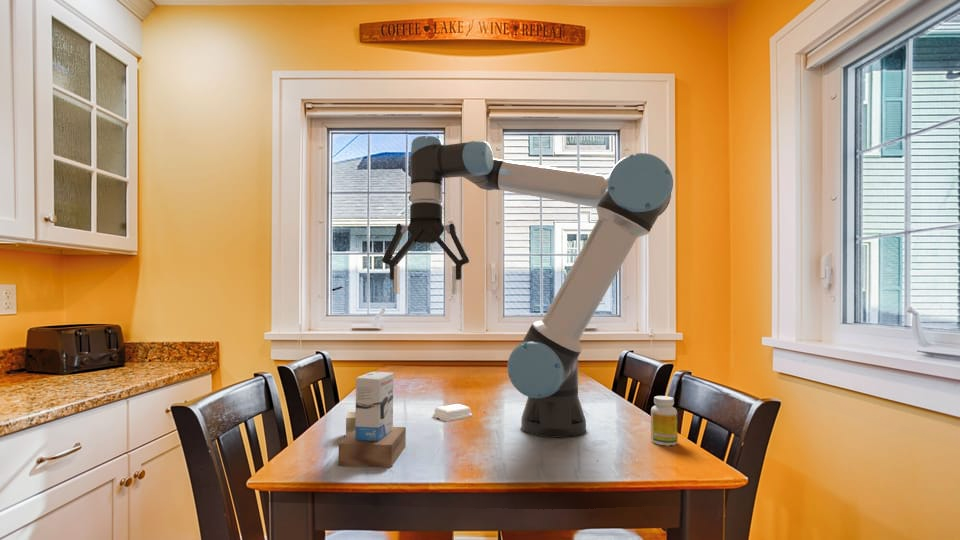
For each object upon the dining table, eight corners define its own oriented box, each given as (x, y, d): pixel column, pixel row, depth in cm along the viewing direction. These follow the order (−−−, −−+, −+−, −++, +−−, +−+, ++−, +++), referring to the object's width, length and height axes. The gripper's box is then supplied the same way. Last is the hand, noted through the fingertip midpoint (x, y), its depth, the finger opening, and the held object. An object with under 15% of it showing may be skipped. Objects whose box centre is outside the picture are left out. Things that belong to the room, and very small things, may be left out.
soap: (445, 423, 122) (446, 411, 122) (430, 417, 127) (430, 406, 127) (474, 417, 127) (474, 406, 128) (458, 412, 133) (458, 401, 133)
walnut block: (405, 446, 102) (405, 427, 102) (391, 466, 90) (391, 444, 90) (358, 445, 103) (358, 426, 103) (338, 465, 91) (338, 443, 91)
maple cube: (369, 433, 112) (369, 411, 112) (369, 440, 107) (369, 416, 107) (346, 434, 111) (347, 412, 111) (345, 441, 106) (346, 418, 106)
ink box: (378, 442, 92) (379, 378, 92) (353, 440, 93) (354, 378, 93) (394, 429, 100) (394, 371, 101) (371, 428, 101) (372, 371, 102)
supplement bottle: (647, 438, 108) (646, 395, 109) (671, 438, 108) (670, 394, 109) (657, 446, 103) (656, 400, 103) (682, 446, 103) (681, 400, 103)
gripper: (480, 206, 118) (479, 294, 117) (378, 207, 120) (377, 293, 119) (478, 200, 111) (477, 294, 110) (369, 201, 112) (368, 293, 111)
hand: (425, 294), depth 114 cm, fingers open, 13 cm apart
